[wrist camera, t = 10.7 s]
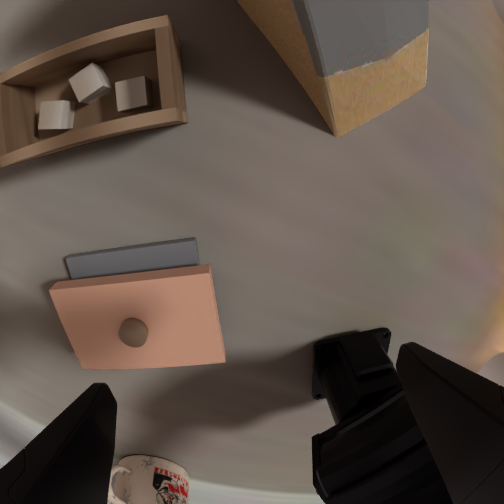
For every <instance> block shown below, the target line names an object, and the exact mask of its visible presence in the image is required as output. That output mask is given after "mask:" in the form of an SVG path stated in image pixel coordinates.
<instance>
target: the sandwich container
mask: <svg viewBox="0 0 504 504" xmlns="http://www.w3.org/2000/svg"><path fill="white" fill-rule="evenodd" d="M236 1H237V2H238V3H239V4H240V6H241V7H242V8H243V10H244V11H245V12H246V13H247V15H248V16H249V17H250V19H251V20H252V21H253V22H254V23H255V25H256V26H257V27H258V28H259V30H260V31H261V32H262V33H263V35H264V36H265V37H266V38H267V40H268V41H269V42H270V43H271V45H272V46H273V47H274V49H275V50H276V51H277V52H278V54H279V55H280V56H281V58H282V59H283V60H284V62H285V63H286V65H287V66H288V67H289V69H290V70H291V71H292V73H293V74H294V76H295V77H296V78H297V80H298V81H299V83H300V84H301V85H302V87H303V88H304V90H305V91H306V93H307V94H308V96H309V97H310V99H311V100H312V102H313V103H314V105H315V106H316V108H317V109H318V111H319V112H320V114H321V115H322V117H323V118H324V120H325V122H326V123H327V125H328V126H329V128H330V130H331V131H332V133H333V134H334V136H335V137H340V136H342V135H344V134H346V133H347V132H349V131H351V130H353V129H355V128H357V127H358V126H360V125H362V124H364V123H366V122H368V121H369V120H371V119H373V118H375V117H377V116H379V115H381V114H383V113H384V112H386V111H388V110H390V109H391V108H393V107H394V106H396V105H397V104H399V103H400V102H402V101H404V100H405V99H407V98H408V97H410V96H412V95H413V94H415V93H416V92H418V91H420V90H421V89H423V88H424V87H425V86H426V75H427V58H428V38H429V0H236Z"/></svg>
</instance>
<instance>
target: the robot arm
mask: <svg viewBox="0 0 504 504" xmlns="http://www.w3.org/2000/svg"><path fill="white" fill-rule="evenodd" d="M385 333H386V334H385ZM384 334H385V335H384ZM390 338H391V332H390V330H389V329H388V328H382V329H378V330H373V331H369V332H364V333H359V334H355V335H350V336H345V337H340V338H334V339H329V340H324V341H319V342H317V343H315V345H314V347H313V380H312V396H313V398H314V399H316V400H318V399H323V398H326V399H327V402H328V405H329V408H330V410H331V413H332V416H333V419H334V422H335V424H336V425H335V426H333V427H331V428H330V429H328V430H326V431H324V432H322V433H321V434H319V433H318V434H316V435H315V436H313V437H312V464H313V485H314V487H315V488H316V492H317V494H318V495H319V496H320V497H321V499H322V500H323V501H324V503H325V504H504V387H503V386H500V385H498V384H496V383H494V382H492V381H490V380H488V379H486V378H484V377H482V376H480V375H478V374H476V373H474V372H472V371H470V370H468V369H466V368H464V367H462V366H460V365H458V364H456V363H454V362H452V361H450V360H448V359H446V358H444V357H443V356H441V355H439V354H437V353H435V352H433V351H431V350H429V349H427V348H425V347H423V346H421V345H419V344H417V343H415V342H409V343H406V344H403V345H401V347H400V349H399V354H398V358H397V362H396V369H395V368H394V366H393V363H392V361H391V360H390V358H389V356H388V355H387V353H388V348H389V343H390ZM319 347H322V348H320V349H318V348H319ZM396 370H397V371H396ZM317 394H318V395H317ZM116 416H117V402H116V400H115V398H114V396H113V394H112V392H111V390H110V388H109V386H108V385H107V384H106V383H93V384H92V385H91V386H90V387H89V388H88V389H86V390H85V391H84V392H83V393H82V394H81V395H80V396H79V397H78V398H77V399H76V400H75V401H74V402H73V403H71V404H70V405H69V406H68V407H67V408H66V409H65V410H64V411H63V412H62V413H61V414H60V415H59V416H58V417H56V418H55V419H54V420H53V421H52V422H51V423H50V424H49V425H48V426H47V427H46V428H45V429H44V430H43V431H42V432H40V433H39V434H38V435H37V436H36V437H35V438H34V439H33V440H32V441H31V442H30V443H29V444H28V445H27V446H26V447H25V449H22V450H21V451H20V452H19V453H18V454H17V455H16V456H15V457H14V458H13V459H12V460H10V461H9V462H8V463H7V464H6V465H5V466H3V467H2V468H1V469H0V504H107V501H108V492H109V484H110V477H111V470H112V463H113V456H114V449H115V433H116Z"/></svg>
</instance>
